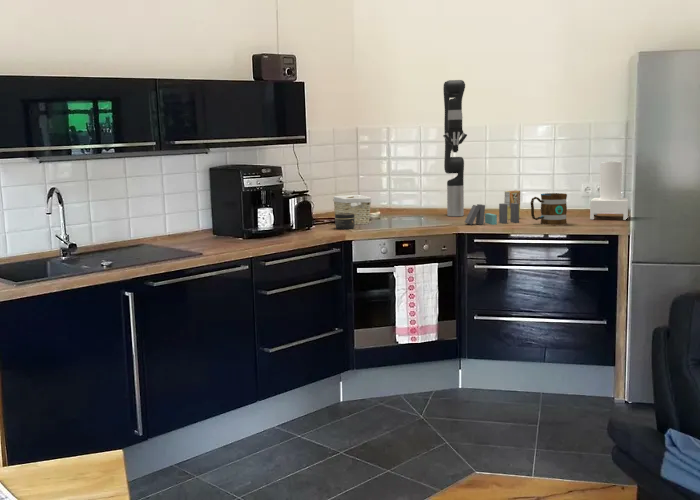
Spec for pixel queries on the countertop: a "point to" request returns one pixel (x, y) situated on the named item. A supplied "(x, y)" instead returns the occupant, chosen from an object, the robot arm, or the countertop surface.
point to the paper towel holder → (610, 191)
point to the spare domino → (490, 218)
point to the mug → (551, 208)
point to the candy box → (511, 201)
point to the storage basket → (354, 207)
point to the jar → (344, 221)
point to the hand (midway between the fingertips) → (455, 152)
